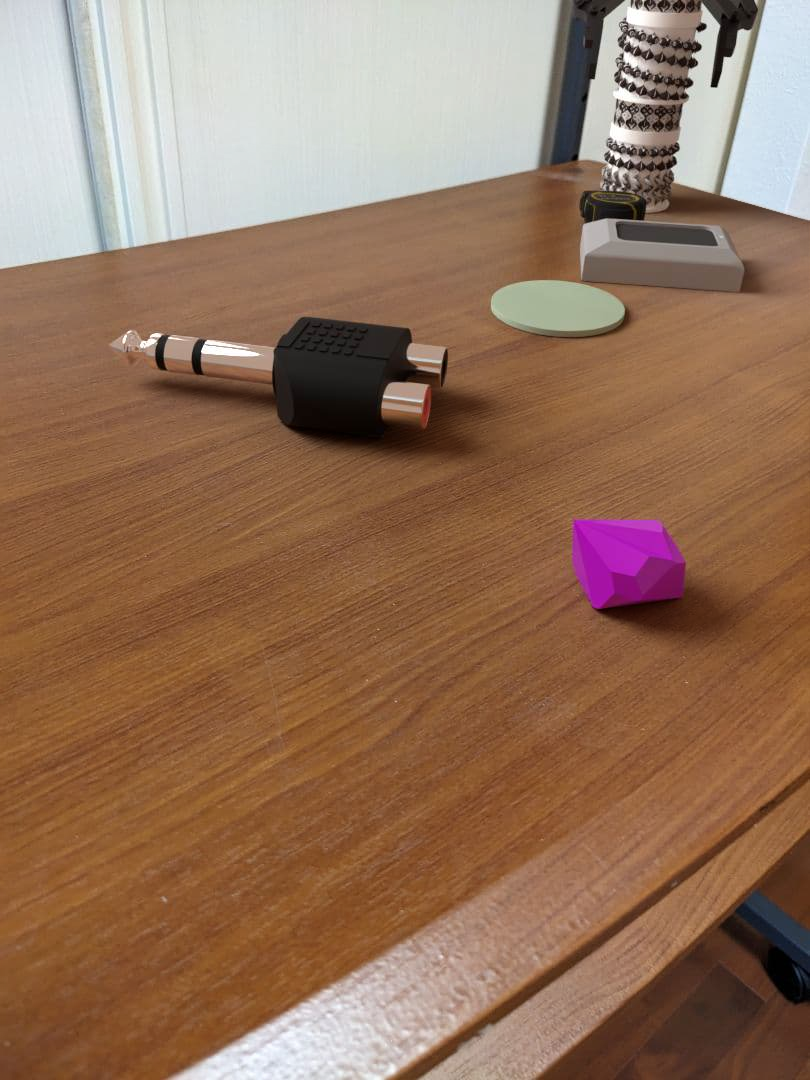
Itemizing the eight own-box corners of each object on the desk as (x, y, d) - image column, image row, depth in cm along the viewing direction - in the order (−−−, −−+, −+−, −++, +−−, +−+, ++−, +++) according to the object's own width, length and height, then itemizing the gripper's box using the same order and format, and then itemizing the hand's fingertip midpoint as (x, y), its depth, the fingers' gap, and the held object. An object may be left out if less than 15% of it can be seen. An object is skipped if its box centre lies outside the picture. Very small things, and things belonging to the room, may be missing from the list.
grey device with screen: (584, 213, 95) (733, 222, 94) (579, 248, 97) (725, 258, 96) (586, 242, 87) (748, 254, 86) (581, 280, 90) (739, 292, 88)
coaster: (652, 317, 83) (653, 310, 82) (557, 349, 77) (557, 342, 76) (556, 277, 90) (557, 271, 90) (463, 303, 84) (464, 297, 84)
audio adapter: (421, 384, 59) (64, 340, 63) (418, 457, 62) (78, 410, 66) (452, 320, 67) (136, 285, 72) (448, 386, 71) (146, 349, 75)
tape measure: (636, 221, 105) (642, 187, 103) (646, 240, 100) (652, 205, 98) (577, 219, 106) (581, 185, 103) (583, 238, 100) (588, 203, 98)
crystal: (621, 636, 48) (636, 566, 45) (551, 581, 51) (562, 513, 49) (689, 602, 50) (707, 533, 48) (618, 552, 54) (631, 485, 51)
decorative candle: (614, 187, 117) (649, -46, 102) (683, 201, 112) (731, -40, 98) (581, 203, 111) (614, -42, 96) (653, 219, 106) (699, -36, 92)
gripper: (782, -60, 108) (761, 104, 105) (568, -69, 112) (541, 89, 109) (800, -116, 100) (778, 60, 97) (570, -123, 104) (542, 45, 101)
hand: (653, 76), depth 103 cm, fingers open, 13 cm apart
